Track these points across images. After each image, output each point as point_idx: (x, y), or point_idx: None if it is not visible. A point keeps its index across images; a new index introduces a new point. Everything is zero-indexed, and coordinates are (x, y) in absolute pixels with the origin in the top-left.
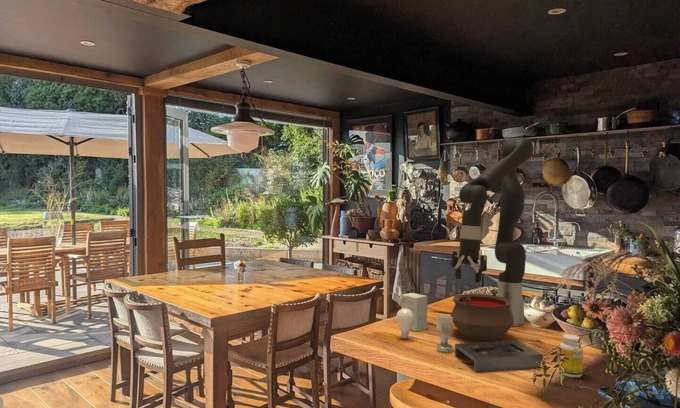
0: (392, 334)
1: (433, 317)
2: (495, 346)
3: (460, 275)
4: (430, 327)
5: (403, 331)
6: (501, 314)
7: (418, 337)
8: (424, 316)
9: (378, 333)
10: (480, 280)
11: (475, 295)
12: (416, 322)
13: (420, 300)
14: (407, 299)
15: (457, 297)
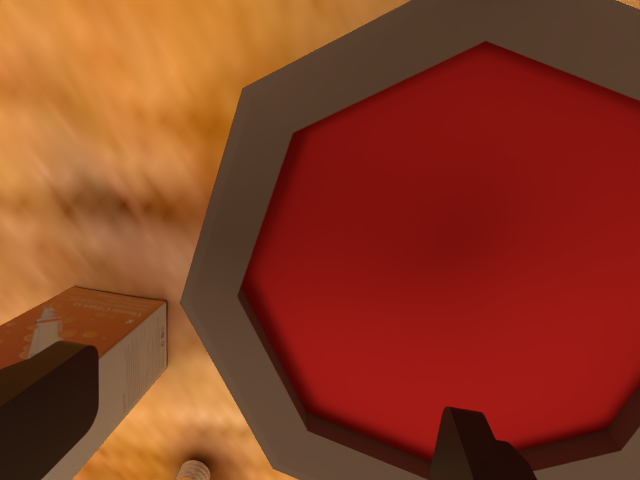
0: (130, 450)
1: (33, 72)
2: None
3: (54, 382)
4: (157, 263)
5: None
6: None
7: (222, 422)
8: (130, 355)
9: (90, 470)
10: (516, 462)
11: (298, 110)
12: (142, 396)
13: (60, 461)
14: None
15: (234, 339)
